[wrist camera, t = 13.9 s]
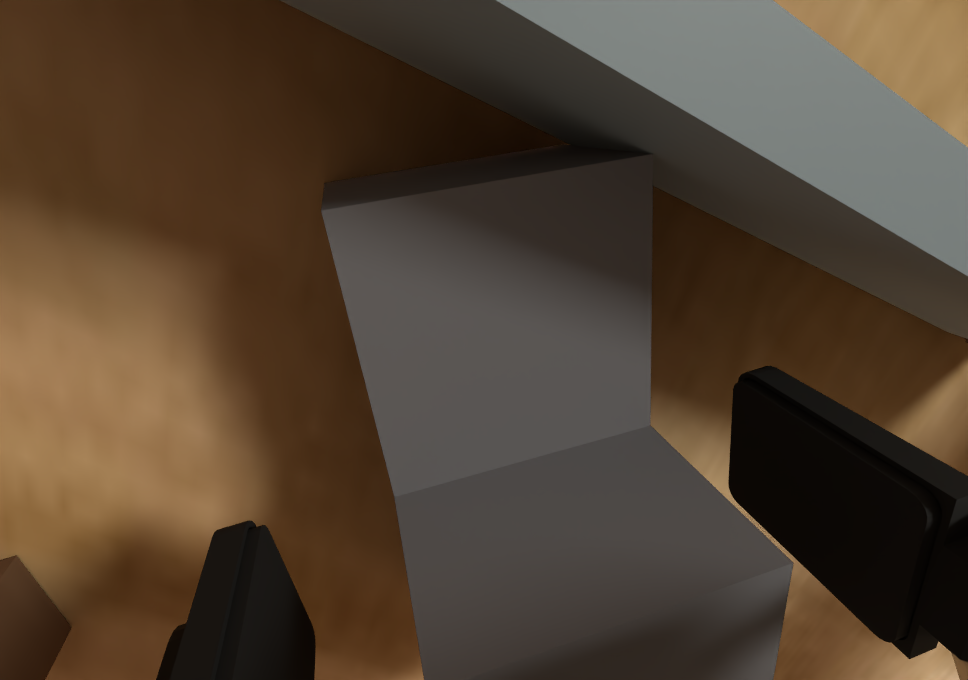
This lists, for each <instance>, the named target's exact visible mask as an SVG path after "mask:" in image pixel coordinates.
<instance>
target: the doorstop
mask: <svg viewBox="0 0 968 680" xmlns="http://www.w3.org/2000/svg"><path fill="white" fill-rule="evenodd" d="M321 212H322V216H323V220H324V224H325V228H326V232H327V236H328V240H329V243H330V247H331V251H332V255H333V259H334V263H335V267H336V271H337V275H338V279H339V283H340V286H341V290H342V294H343V298H344V302H345V306H346V310H347V314H348V318H349V322H350V326H351V329H352V333H353V337H354V341H355V345H356V349H357V353H358V357H359V361H360V365H361V369H362V372H363V376H364V380H365V384H366V388H367V392H368V396H369V400H370V404H371V408H372V412H373V415H374V419H375V423H376V427H377V431H378V435H379V439H380V443H381V447H382V451H383V455H384V458H385V462H386V466H387V470H388V474H389V478H390V482H391V486H392V490H393V494H394V498H395V504H396V510H397V516H398V522H399V528H400V535H401V541H402V547H403V553H404V559H405V565H406V571H407V577H408V583H409V590H410V596H411V602H412V608H413V614H414V620H415V626H416V632H417V638H418V644H419V651H420V657H421V663H422V669H423V675H424V680H773V678H774V672H775V667H776V661H777V655H778V649H779V643H780V638H781V632H782V626H783V620H784V614H785V609H786V603H787V597H788V591H789V585H790V580H791V574H792V568H793V562H792V561H791V560H790V559H789V558H788V557H787V556H786V555H785V554H784V553H782V552H781V551H780V550H779V549H778V548H777V547H776V546H775V545H774V544H773V543H772V542H771V541H770V540H769V539H768V538H767V537H766V536H765V535H764V534H763V533H762V532H761V531H760V530H759V529H758V528H756V527H755V526H754V525H753V524H752V523H751V522H750V521H749V520H748V519H747V518H746V517H745V516H744V515H743V514H742V513H741V512H740V511H739V510H738V509H737V508H736V507H735V506H734V505H733V504H732V503H730V502H729V501H728V500H727V499H726V498H725V497H724V496H723V495H722V494H721V493H720V492H719V491H718V490H717V489H716V488H715V487H714V486H713V485H712V484H711V483H710V482H709V481H708V480H707V479H706V478H704V477H703V476H702V475H701V474H700V473H699V472H698V471H697V470H696V469H695V468H694V467H693V466H692V465H691V464H690V463H689V462H688V461H687V460H686V459H685V458H684V457H683V456H682V455H681V454H680V453H678V452H677V451H676V450H675V449H674V448H673V447H672V446H671V445H670V444H669V443H668V442H667V441H666V440H665V439H664V438H663V437H662V436H661V435H660V434H659V433H658V432H657V431H656V430H655V429H654V428H652V427H651V426H650V412H651V317H652V222H653V154H649V153H639V152H630V151H620V150H611V149H601V148H592V147H583V146H573V145H564V144H562V145H556V146H550V147H544V148H538V149H531V150H525V151H519V152H513V153H507V154H500V155H494V156H488V157H482V158H476V159H469V160H463V161H457V162H451V163H445V164H438V165H432V166H426V167H420V168H414V169H407V170H401V171H395V172H389V173H383V174H376V175H370V176H364V177H358V178H352V179H345V180H339V181H333V182H327V183H325V184H324V192H323V200H322V208H321Z"/></svg>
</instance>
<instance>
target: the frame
mask: <svg viewBox="0 0 968 680" xmlns="http://www.w3.org/2000/svg"><path fill="white" fill-rule="evenodd" d="M966 342H967V343H968V339H966ZM70 630H71V626H70V625H69V624H68V622H67V621H66V620H65V619H64V617H63V616H62V615H61V613H60V612H59V611H58V609H57V608H56V607H55V605H54V604H53V603H52V601H51V600H50V599H49V598H48V596H47V595H46V594H45V592H44V591H43V590H42V588H41V587H40V586H39V584H38V583H37V582H36V580H35V579H34V578H33V576H32V575H31V574H30V573H29V571H28V570H27V569H26V567H25V566H24V565H23V563H22V562H21V561H20V559H19V558H18V557H17V556H13V557H10V558H7V559H3V560H0V680H45V679H46V677H47V675H48V673H49V671H50V669H51V667H52V665H53V663H54V661H55V659H56V657H57V655H58V653H59V651H60V650H61V648H62V646H63V644H64V642H65V640H66V638H67V636H68V634H69V632H70Z"/></svg>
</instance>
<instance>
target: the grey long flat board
mask: <svg viewBox="0 0 968 680" xmlns="http://www.w3.org/2000/svg"><path fill="white" fill-rule="evenodd" d="M280 1H282V2H284V3H286V4H288V5H290V6H292V7H294V8H296V9H298V10H300V11H302V12H304V13H306V14H308V15H310V16H312V17H314V18H316V19H318V20H320V21H322V22H324V23H326V24H328V25H330V26H332V27H334V28H336V29H338V30H340V31H342V32H344V33H346V34H349V35H351V36H353V37H355V38H357V39H359V40H361V41H363V42H365V43H367V44H369V45H371V46H373V47H375V48H377V49H379V50H381V51H383V52H385V53H387V54H389V55H391V56H393V57H395V58H397V59H399V60H401V61H403V62H405V63H407V64H409V65H411V66H413V67H415V68H417V69H419V70H421V71H423V72H425V73H427V74H429V75H431V76H433V77H435V78H437V79H439V80H441V81H443V82H445V83H447V84H449V85H451V86H453V87H455V88H457V89H459V90H461V91H463V92H465V93H467V94H469V95H471V96H473V97H475V98H477V99H479V100H481V101H483V102H485V103H487V104H489V105H491V106H493V107H495V108H497V109H499V110H501V111H504V112H506V113H508V114H510V115H512V116H514V117H516V118H518V119H520V120H522V121H524V122H526V123H528V124H530V125H532V126H534V127H536V128H538V129H540V130H542V131H544V132H546V133H548V134H550V135H552V136H554V137H556V138H558V139H560V140H562V141H564V142H566V143H568V144H570V145H573V146H583V147H592V148H601V149H611V150H620V151H630V152H639V153H649V154H653V186H654V187H656V188H659V189H661V190H663V191H665V192H667V193H669V194H671V195H673V196H675V197H677V198H679V199H681V200H683V201H685V202H687V203H689V204H691V205H693V206H695V207H697V208H699V209H701V210H703V211H705V212H707V213H709V214H711V215H713V216H715V217H717V218H719V219H721V220H723V221H725V222H727V223H729V224H731V225H733V226H735V227H737V228H739V229H741V230H743V231H745V232H747V233H749V234H751V235H753V236H755V237H757V238H759V239H761V240H763V241H765V242H767V243H769V244H771V245H773V246H775V247H777V248H779V249H781V250H783V251H785V252H787V253H789V254H791V255H793V256H795V257H797V258H799V259H801V260H803V261H805V262H807V263H809V264H811V265H814V266H816V267H818V268H820V269H822V270H824V271H826V272H828V273H830V274H832V275H834V276H836V277H838V278H840V279H842V280H844V281H846V282H848V283H850V284H852V285H854V286H856V287H858V288H860V289H862V290H864V291H866V292H868V293H870V294H872V295H874V296H876V297H878V298H880V299H882V300H884V301H886V302H888V303H890V304H892V305H894V306H896V307H898V308H900V309H902V310H904V311H906V312H908V313H910V314H912V315H914V316H916V317H918V318H920V319H922V320H924V321H926V322H928V323H930V324H932V325H934V326H936V327H938V328H940V329H942V330H944V331H946V332H949V333H952V334H955V335H958V336H961V337H963V338H966V339H968V148H967V147H966V146H965V145H964V144H962V143H961V142H960V141H958V140H957V139H956V138H954V137H953V136H952V135H950V134H949V133H948V132H946V131H945V130H944V129H942V128H941V127H940V126H938V125H937V124H936V123H934V122H933V121H932V120H930V119H929V118H928V117H926V116H925V115H924V114H923V113H921V112H920V111H919V110H917V109H916V108H915V107H913V106H912V105H911V104H909V103H908V102H907V101H905V100H904V99H903V98H901V97H900V96H899V95H897V94H896V93H895V92H893V91H892V90H891V89H889V88H888V87H887V86H885V85H884V84H883V83H882V82H880V81H879V80H878V79H876V78H875V77H874V76H872V75H871V74H870V73H868V72H867V71H866V70H864V69H863V68H862V67H860V66H859V65H858V64H856V63H855V62H854V61H852V60H851V59H850V58H848V57H847V56H846V55H844V54H843V53H842V52H841V51H839V50H838V49H837V48H835V47H834V46H833V45H831V44H830V43H829V42H827V41H826V40H825V39H823V38H822V37H821V36H819V35H818V34H817V33H815V32H814V31H813V30H811V29H810V28H809V27H807V26H806V25H805V24H803V23H802V22H801V21H800V20H798V19H797V18H796V17H794V16H793V15H792V14H790V13H789V12H788V11H786V10H785V9H784V8H782V7H781V6H780V5H778V4H777V3H776V2H774V1H773V0H280Z"/></svg>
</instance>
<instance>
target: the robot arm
mask: <svg viewBox="0 0 968 680" xmlns="http://www.w3.org/2000/svg"><path fill="white" fill-rule="evenodd" d="M729 489H730V492H731V494H732V496H733V498H734V499H735V500H736V502H737V503H738V504H739V505H740V506H741V507H742V508H744V509H745V510H746V511H747V512H748V513H749V514H750V515H751V516H752V517H753V518H754V519H755V520H756V521H757V522H758V523H759V524H760V525H761V526H762V527H763V528H764V529H765V530H766V531H767V532H769V533H770V534H771V535H772V536H773V537H774V538H775V539H776V540H777V541H778V542H779V543H780V544H781V545H782V546H783V547H784V548H785V549H786V550H787V551H788V552H789V553H790V554H791V555H793V556H794V557H795V558H796V559H797V560H798V561H799V562H800V563H801V564H802V565H803V566H804V567H805V568H806V569H807V570H808V571H809V572H810V573H811V574H812V575H813V576H814V577H815V578H817V579H818V580H819V581H820V582H821V583H822V584H823V585H824V586H825V587H826V588H827V589H828V590H829V591H830V592H831V593H832V594H833V595H834V596H835V597H836V598H837V599H838V600H839V601H840V602H842V603H843V604H844V605H845V606H846V607H847V608H848V609H849V610H850V611H851V612H852V613H853V614H854V615H855V616H856V617H857V618H858V619H859V620H860V621H861V622H862V623H863V624H864V625H866V626H867V627H868V628H869V629H870V630H871V631H872V632H873V633H874V634H875V635H876V636H877V637H879V638H880V639H882V640H884V641H886V642H892V643H893V644H894V645H895V646H896V647H897V648H898V649H899V650H900V651H901V652H902V653H903V654H904V655H905V656H907V657H908V658H909V659H911V658H913V657H916V656H918V655H920V654H923V653H925V652H927V651H930V650H932V649H934V648H936V646H937V643H938V641H939V642H940V643H941V644H942V645H944V646H945V647H946V648H947V649H948V650H949V651H951V653H952V656H953V659H954V662H955V666H956V669H957V672H958V675H959V679H960V680H968V476H966V475H965V474H963V473H961V472H959V471H957V470H956V469H954V468H952V467H950V466H949V465H947V464H945V463H943V462H942V461H940V460H938V459H936V458H935V457H933V456H931V455H929V454H927V453H926V452H924V451H922V450H920V449H919V448H917V447H915V446H913V445H912V444H910V443H908V442H906V441H905V440H903V439H901V438H899V437H897V436H896V435H894V434H892V433H890V432H889V431H887V430H885V429H883V428H882V427H880V426H878V425H876V424H875V423H873V422H871V421H869V420H867V419H866V418H864V417H862V416H860V415H859V414H857V413H855V412H853V411H852V410H850V409H848V408H846V407H845V406H843V405H841V404H839V403H837V402H836V401H834V400H832V399H830V398H829V397H827V396H825V395H823V394H822V393H820V392H818V391H816V390H814V389H813V388H811V387H809V386H807V385H806V384H804V383H802V382H800V381H799V380H797V379H795V378H793V377H792V376H790V375H788V374H786V373H784V372H783V371H781V370H779V369H777V368H775V367H773V366H766V367H762V368H759V369H756V370H752V371H749V372H746V373H743V374H742V375H741V376H740V377H739V380H738V383H736V384H735V385H734V389H733V404H732V424H731V444H730V464H729ZM314 671H315V635H314V630H313V626H312V623H311V621H310V619H309V617H308V615H307V612H306V610H305V608H304V606H303V604H302V602H301V599H300V597H299V595H298V593H297V591H296V588H295V586H294V584H293V582H292V580H291V578H290V575H289V573H288V571H287V569H286V567H285V564H284V562H283V560H282V558H281V556H280V553H279V551H278V549H277V547H276V545H275V543H274V540H273V538H272V536H271V534H270V532H269V530H268V528H267V527H266V526H265V525H262V526H258V527H256V525H255V523H254V522H253V521H246V522H242V523H239V524H236V525H232V526H229V527H225V528H222V529H219V530H217V531H215V532H214V535H213V537H212V540H211V543H210V547H209V550H208V553H207V557H206V560H205V563H204V567H203V570H202V573H201V577H200V580H199V583H198V587H197V590H196V593H195V597H194V600H193V603H192V607H191V610H190V613H189V617H188V620H187V623H186V624H183V625H180V626H178V627H177V628H176V629H175V630H174V631H173V633H172V635H171V637H170V639H169V642H168V645H167V648H166V651H165V654H164V657H163V660H162V663H161V666H160V669H159V672H158V676H157V679H156V680H314Z"/></svg>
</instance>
